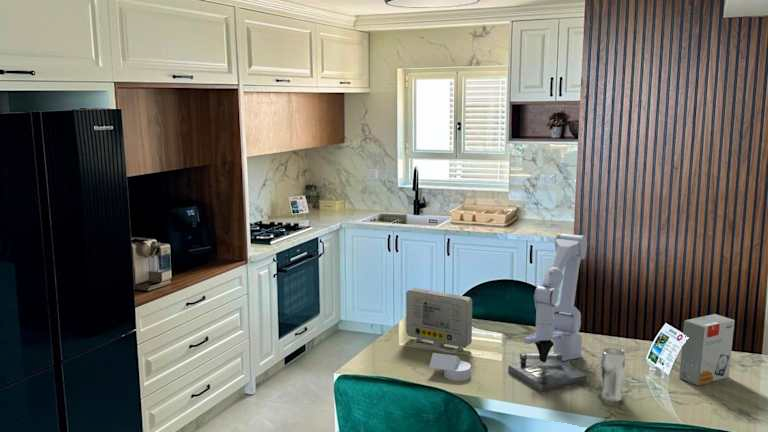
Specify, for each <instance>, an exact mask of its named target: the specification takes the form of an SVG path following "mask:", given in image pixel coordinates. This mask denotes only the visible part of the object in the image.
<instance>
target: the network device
mask: <svg viewBox="0 0 768 432" xmlns="http://www.w3.org/2000/svg"><path fill="white" fill-rule="evenodd" d="M405 295H406V296H405V298H406V299H405V302H406V303H405V306H406V308H405V312H406V313H405V314H406V315H405V318H406V321H405V322H406V323H405V325H406V326H405V328H406V329H405V331H406V335H407V336H409V337H411V338H415V339H414V340H413V341H412V344H413V345H414V346H418V347H422V348H427V349H431V350H434V351H440V352H445V353H449V354H455V352H456V353H458V351H459V352H460V351H462V350H463V349H464V348H467V347H468V346H470V345H471V344H472V342H473V341H472V340H473V339H472V338H473V337H472V336H473V333H472V332H473V300H472V298H471V297H470V296H463V295H460V294H452V293H448V292H447V293H446V292H441V291H434V290H429V289H424V288H416V287H413V288H411V289H408V290H407V291H406V292H405ZM422 340H425V341H430V342H433V343H432V344H425V343H419V342H420V341H422ZM443 345H449V346H454V347H457V348H455V349H453V350H452V349H447V348H441V347H442V346H443ZM462 348H463V349H462ZM461 349H462V350H461Z"/></svg>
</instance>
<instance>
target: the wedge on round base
mask: <svg viewBox="0 0 768 432" xmlns="http://www.w3.org/2000/svg"><path fill="white" fill-rule="evenodd" d="M428 367H429V368H432V369H441V370H443V376H444V378H446V379H448V380H451V381H458V382H459V381H460V382H461V381H467V380H469V379H470V378H471V376H472V364H470V362H468V361H465V360H461V359H460V357H459V356H458V355H452V354H446V353H438V352H437V353H436V352H432V355H431V359H430V362H429V366H428ZM468 378H469V379H468Z"/></svg>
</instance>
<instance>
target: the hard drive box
mask: <svg viewBox="0 0 768 432" xmlns="http://www.w3.org/2000/svg"><path fill="white" fill-rule="evenodd" d="M682 330H683V332H682V335H683V334H684V335H686V336H687V337H689V339H688V340H686V343H685V344H684V345H683V346H682V345H681V350H680V351H681V353H680V360H679V361H680V362H679V372H678V378H679V379H681V380H684V381H686V382H688V383H691V384H693V385H695V386H701V385H707V384H709V383H713V382H716V381H720V380H723V379H727V378H729V377H730V367H731V360H732V359H731V358H732V349H733V341H734V340H733V338H734V331H735V319H732V318H729V317H726V316H723V315H719V314H716V313H713V314H709V315H704V316H699V317H694V318H690V319H685V320H684V322H683V329H682ZM686 336H685V337H686Z"/></svg>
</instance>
